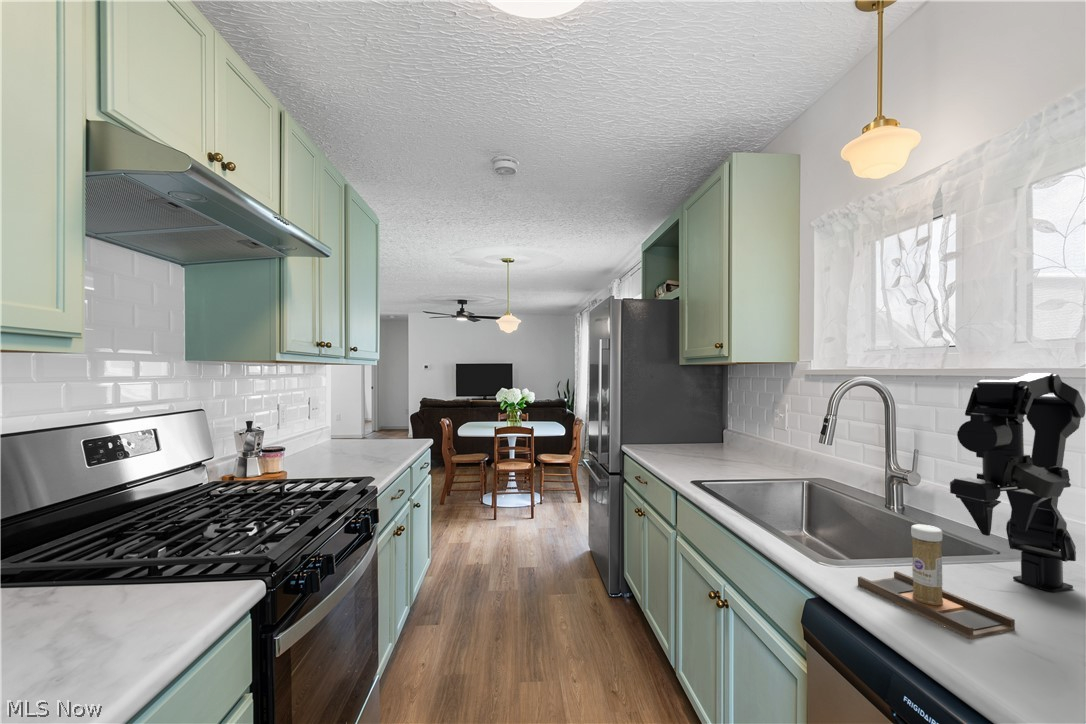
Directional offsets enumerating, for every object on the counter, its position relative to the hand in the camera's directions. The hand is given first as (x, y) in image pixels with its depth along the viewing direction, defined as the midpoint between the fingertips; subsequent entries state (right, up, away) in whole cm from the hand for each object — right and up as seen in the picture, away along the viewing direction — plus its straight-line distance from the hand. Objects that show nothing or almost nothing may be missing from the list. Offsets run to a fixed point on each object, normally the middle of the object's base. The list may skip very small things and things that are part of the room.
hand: (1004, 532), depth 93 cm
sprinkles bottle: (-14, -13, 0) cm, 19 cm away
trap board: (-14, -13, 0) cm, 19 cm away
